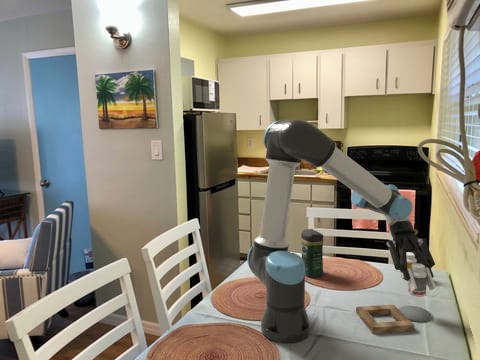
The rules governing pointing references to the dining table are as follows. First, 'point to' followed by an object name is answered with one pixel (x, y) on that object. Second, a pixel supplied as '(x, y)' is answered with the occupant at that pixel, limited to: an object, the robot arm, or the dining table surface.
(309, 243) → the coffee jar
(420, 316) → the coaster
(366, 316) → the pocket
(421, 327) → the dining table surface
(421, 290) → the pill bottle
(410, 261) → the supplement bottle
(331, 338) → the dining table surface
